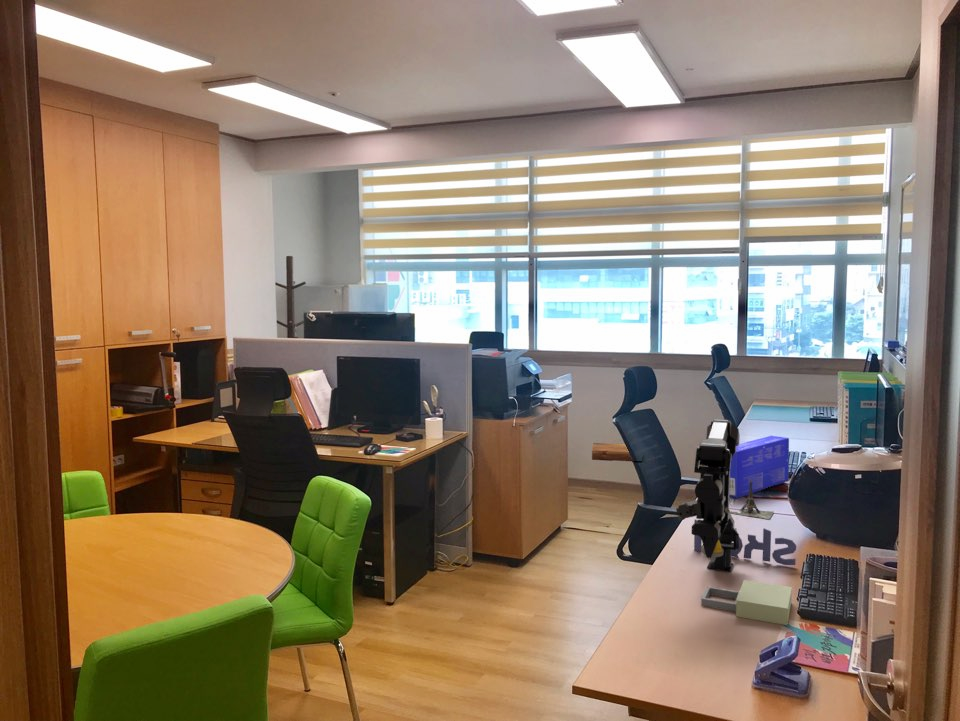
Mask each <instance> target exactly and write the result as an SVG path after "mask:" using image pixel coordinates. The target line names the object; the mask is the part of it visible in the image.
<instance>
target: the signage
mask: <svg viewBox="0 0 960 721" xmlns="http://www.w3.org/2000/svg"><path fill="white" fill-rule="evenodd" d="M697 520H698V519H696V518H695V519H694V523H695V522H696V521H697ZM693 536H694V539H693V540H694V542H693V551H696V552H700V553H702V552H701V546H702V545H703V543H702V539H701V538H700V537H699V536H698V535H693ZM747 541H748V543H747V544H745V545H743V539H742V538H741V537H740V536H739V549H736V550H731V557H734V558H735V559H740V557H739V554H741V552H742V549H743V559H749V560H750V559H752V551H753V550H759V551H762V562H771V556H772V559H773V560H774V561H775V562H776V563H778V564H780V565H784V566H796V558H795V557H794V558H783V557H781V556H786V555H791V554H794V553H795V552H796V550H797V544H796V543H795V542H794V541H793V539H789V538H784V537H775V538H774V544H775V545H786V547H782V548H777V549H774V550H773V551H772V553H771V548H772V547H771V545H772V542H771V541H772V531H771V530H770V529H766V528H764V527H763V533H762V541H758V540H757V535H755V534H747ZM771 554H772V555H771Z"/></svg>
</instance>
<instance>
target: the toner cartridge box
mask: <svg viewBox="0 0 960 721" xmlns="http://www.w3.org/2000/svg"><path fill="white" fill-rule="evenodd" d="M789 452H790V438H789V437H784V436H776V435H775V436H774V435H767V436H763V437H760V438H755V439H752V440H748V441H745V442H744V441H743V442H739V446H737V451H736V452H735V454H734V455H733V457H732V458H731V467H730V492H729V498H733V499H739V498H742V497H745V496H746V497H747V495H749V488H750V479H751V480H752V494H754V493H757V492H758V493H759V492H761V491H764V490H767V489H769V488H771V486H772V487H775V486H779V485H780V484H783V483H784V484H785V483H786V482H789V480H790V479H789V477H790V476H789V475H790V473H789V472H790V469H789V468H790V467H789V466H790V465H789V463H790V457H789V456H790V453H789ZM774 485H775V486H774ZM768 487H769V488H768ZM766 488H767V489H766Z"/></svg>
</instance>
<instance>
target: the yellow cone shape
mask: <svg viewBox="0 0 960 721" xmlns="http://www.w3.org/2000/svg"><path fill="white" fill-rule="evenodd" d="M723 552H724V550H723V548H722V547H721V544H720V541H719V540H718V542H717V545H716V547H715V549H714V552H713V554H712V556H711V558H709V562H710V561H711V562H715V559H716V557H720V556H722V555H723ZM700 553H702V554H704V555H705V556H706V554H705V550H704V546H703V544H702V546H701V552H700Z"/></svg>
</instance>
